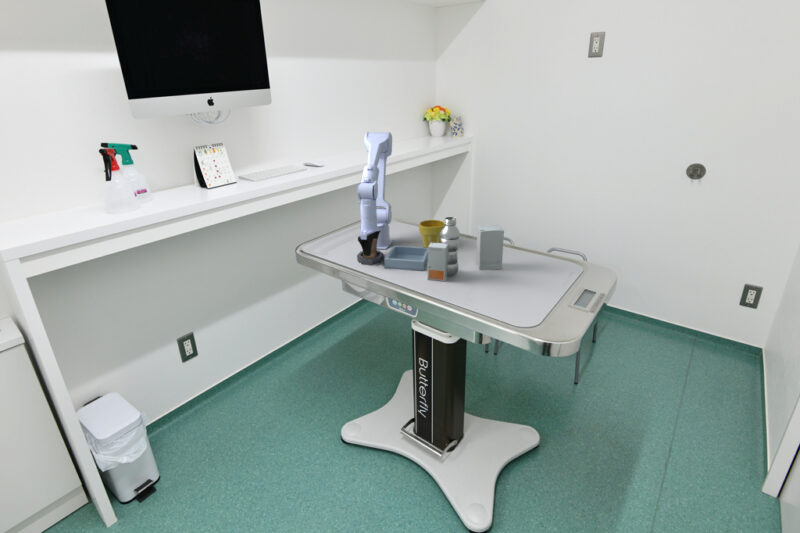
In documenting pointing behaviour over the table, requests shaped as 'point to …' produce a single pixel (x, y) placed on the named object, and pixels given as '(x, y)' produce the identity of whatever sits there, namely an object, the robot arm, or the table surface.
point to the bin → (407, 258)
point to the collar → (370, 259)
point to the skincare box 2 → (489, 247)
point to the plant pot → (431, 231)
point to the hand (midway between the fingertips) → (370, 251)
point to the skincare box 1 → (437, 261)
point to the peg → (373, 249)
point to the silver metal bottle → (451, 244)
